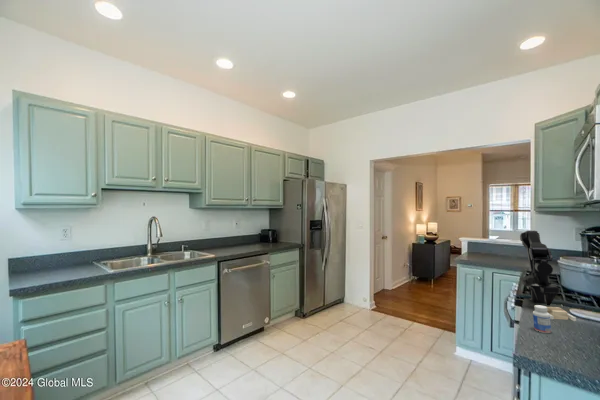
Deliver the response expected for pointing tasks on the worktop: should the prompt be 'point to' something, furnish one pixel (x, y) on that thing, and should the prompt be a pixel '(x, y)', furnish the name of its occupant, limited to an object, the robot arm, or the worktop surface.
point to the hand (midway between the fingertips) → (543, 302)
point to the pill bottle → (541, 319)
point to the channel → (568, 317)
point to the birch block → (557, 313)
